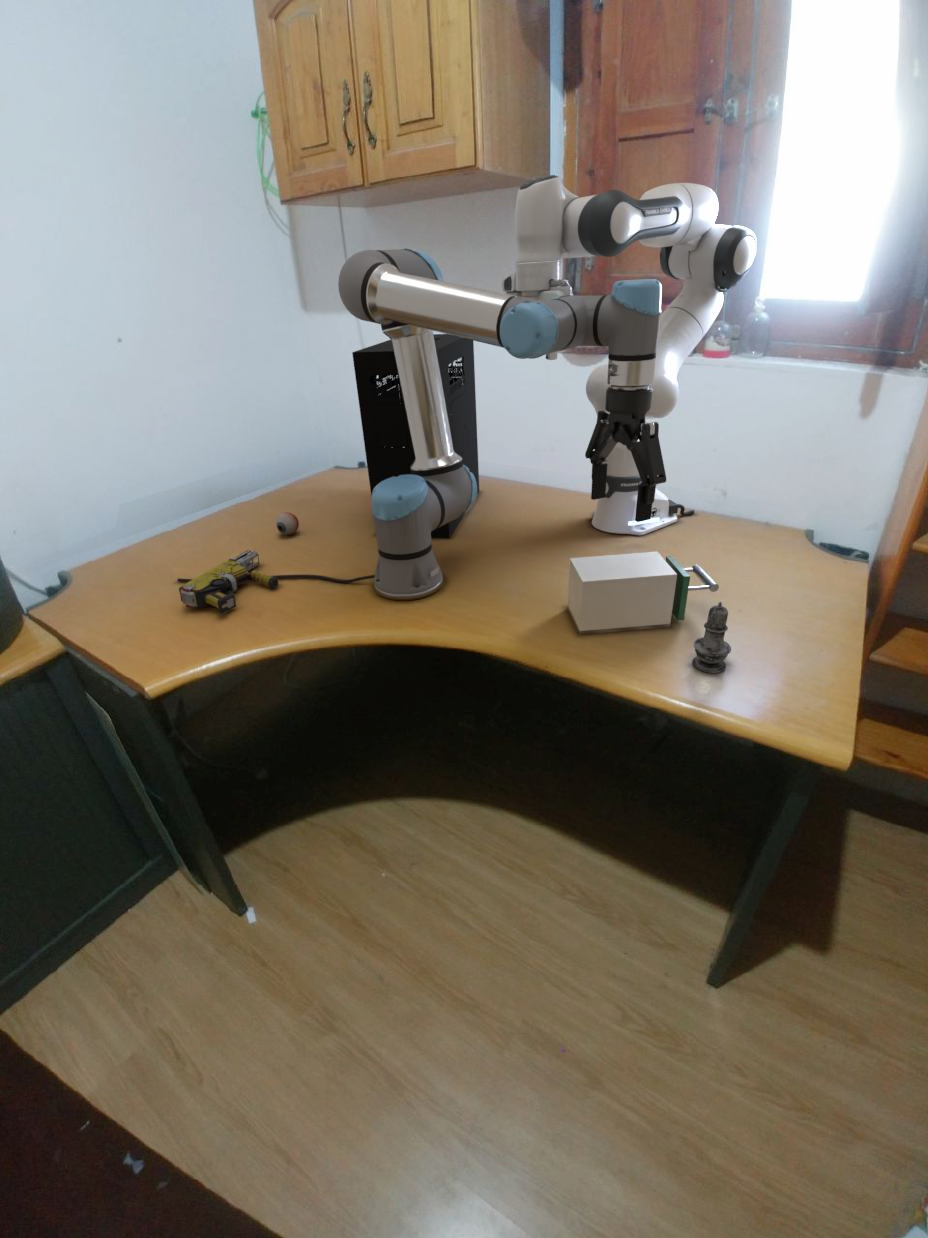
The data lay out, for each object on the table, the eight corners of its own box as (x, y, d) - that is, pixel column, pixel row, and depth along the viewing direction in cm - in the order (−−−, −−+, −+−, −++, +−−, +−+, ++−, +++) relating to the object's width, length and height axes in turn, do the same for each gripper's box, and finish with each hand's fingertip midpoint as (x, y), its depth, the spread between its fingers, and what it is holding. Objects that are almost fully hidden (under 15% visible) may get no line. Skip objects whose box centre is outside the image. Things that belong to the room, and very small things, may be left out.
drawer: (694, 595, 122) (701, 553, 117) (714, 617, 114) (722, 573, 109) (587, 604, 121) (590, 562, 116) (599, 627, 113) (603, 583, 108)
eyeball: (273, 537, 164) (268, 516, 161) (287, 528, 169) (282, 508, 166) (291, 539, 161) (286, 518, 158) (305, 530, 166) (301, 510, 163)
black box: (449, 537, 157) (436, 349, 134) (376, 534, 161) (352, 352, 139) (479, 491, 188) (473, 332, 166) (417, 489, 193) (403, 335, 170)
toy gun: (299, 558, 143) (245, 547, 147) (233, 601, 123) (173, 587, 126) (300, 576, 145) (248, 565, 149) (236, 621, 125) (177, 606, 129)
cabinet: (651, 601, 122) (657, 551, 117) (669, 627, 114) (677, 574, 108) (567, 608, 122) (569, 557, 116) (579, 634, 113) (582, 581, 107)
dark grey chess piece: (730, 675, 99) (743, 611, 93) (692, 672, 100) (703, 609, 94) (724, 655, 104) (736, 594, 98) (688, 653, 105) (698, 592, 99)
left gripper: (569, 379, 109) (565, 493, 119) (660, 400, 89) (645, 535, 99) (604, 374, 111) (597, 486, 122) (700, 394, 91) (682, 526, 102)
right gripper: (585, 277, 109) (582, 360, 116) (523, 279, 125) (523, 351, 132) (556, 279, 107) (555, 363, 114) (497, 281, 123) (499, 355, 129)
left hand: (619, 508), depth 110 cm, fingers open, 13 cm apart
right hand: (537, 357), depth 123 cm, fingers open, 8 cm apart
